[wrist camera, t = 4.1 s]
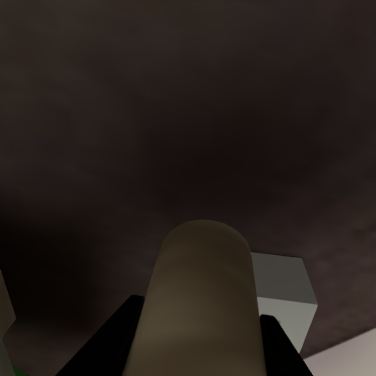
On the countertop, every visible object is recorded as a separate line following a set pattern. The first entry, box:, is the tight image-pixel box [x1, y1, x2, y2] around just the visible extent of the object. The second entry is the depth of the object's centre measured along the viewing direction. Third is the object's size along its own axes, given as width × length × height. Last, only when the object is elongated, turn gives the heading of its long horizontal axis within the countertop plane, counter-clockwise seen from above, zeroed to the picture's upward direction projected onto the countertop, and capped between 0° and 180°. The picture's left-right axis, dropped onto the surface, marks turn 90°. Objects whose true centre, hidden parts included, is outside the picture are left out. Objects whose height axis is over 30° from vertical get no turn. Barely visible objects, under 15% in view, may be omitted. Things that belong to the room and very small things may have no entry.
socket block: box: [251, 252, 318, 353], centre depth 23 cm, size 9×9×4 cm
